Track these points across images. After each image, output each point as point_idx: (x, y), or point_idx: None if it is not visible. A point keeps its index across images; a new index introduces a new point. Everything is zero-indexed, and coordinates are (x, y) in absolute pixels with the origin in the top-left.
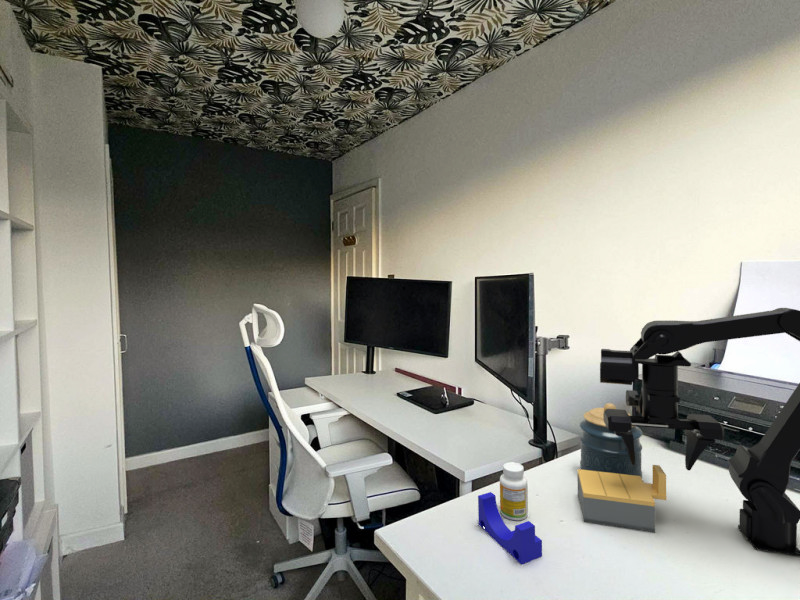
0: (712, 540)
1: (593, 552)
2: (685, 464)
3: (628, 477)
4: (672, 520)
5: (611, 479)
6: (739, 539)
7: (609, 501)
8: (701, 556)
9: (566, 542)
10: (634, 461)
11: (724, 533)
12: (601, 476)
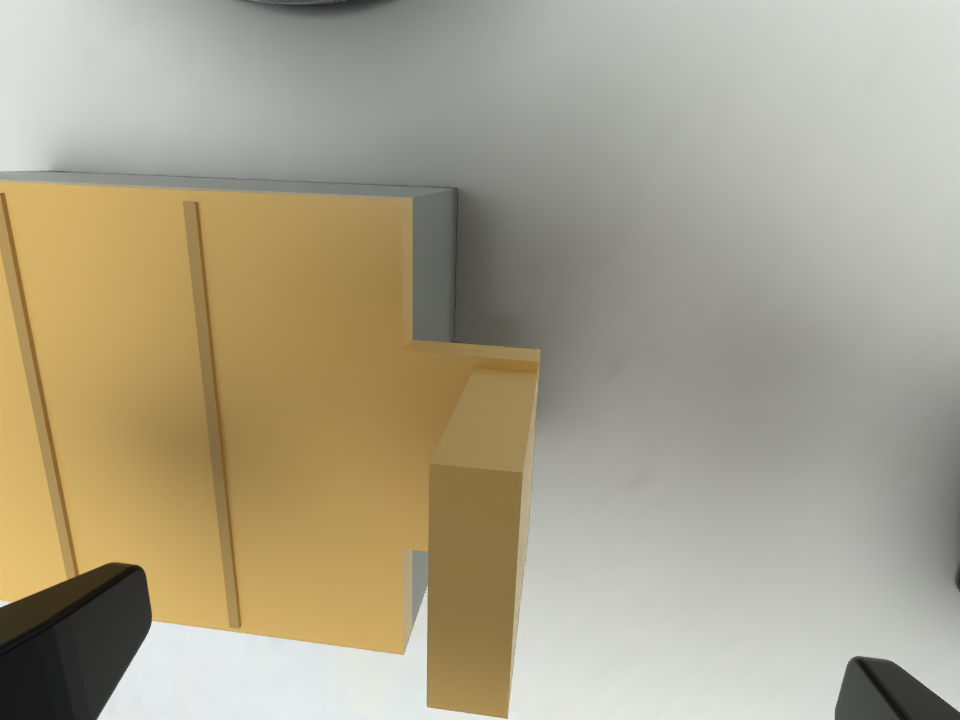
0: (749, 535)
1: (149, 681)
2: (876, 695)
3: (275, 258)
4: (604, 371)
5: (119, 336)
6: (930, 504)
7: None
8: (612, 660)
9: None
10: (107, 690)
11: (875, 458)
12: (35, 292)
